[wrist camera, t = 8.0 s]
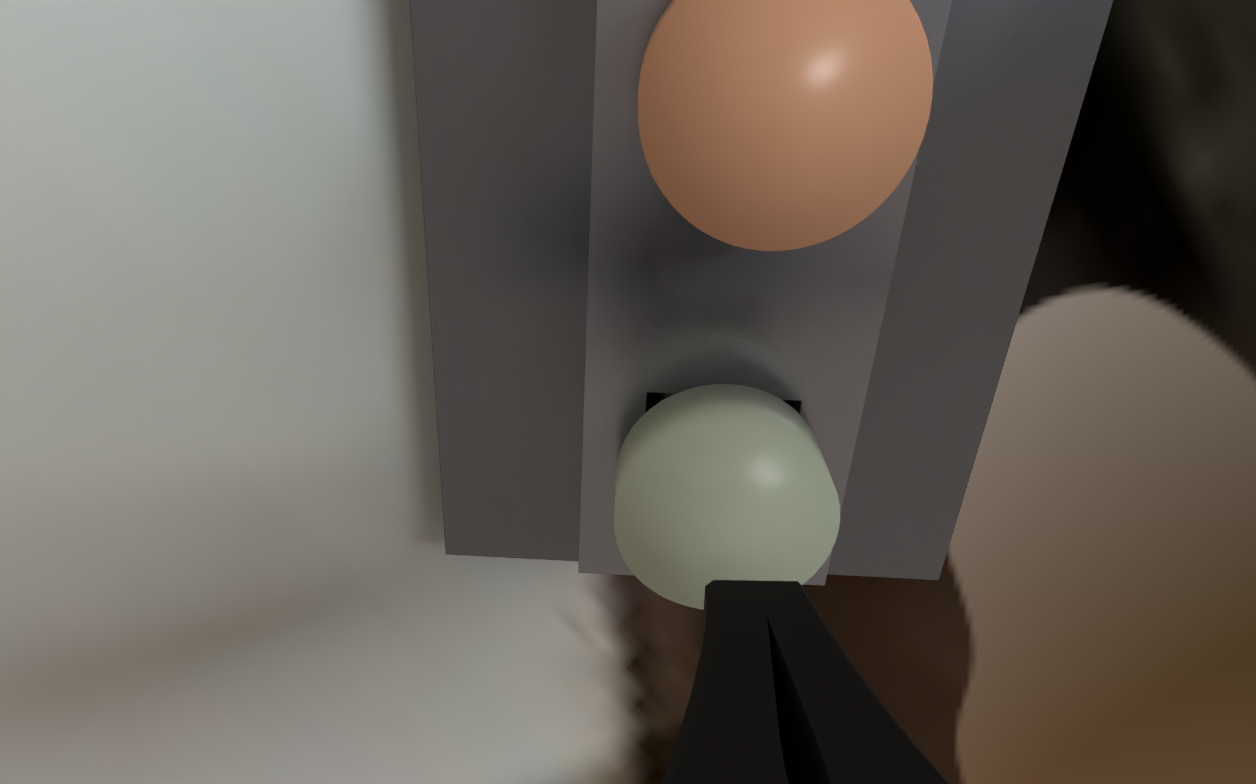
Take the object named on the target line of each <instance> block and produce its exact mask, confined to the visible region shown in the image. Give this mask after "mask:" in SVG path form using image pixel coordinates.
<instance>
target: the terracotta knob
mask: <svg viewBox="0 0 1256 784" xmlns="http://www.w3.org/2000/svg"><path fill="white" fill-rule="evenodd" d="M932 92H933V72H932V61H931V54H930V50H929V45H928V41H927V37H926V34H925V31H924V29H923V26H922V23H921V21H920V18H919V16H918V14H917V13H916V11H915V9H914V7H913V5H912V4H911V2H910V0H672V1H671V2H670V4H669V5H668V7H667V8H666V10H665V11H664V13H663V14H662V15H661V17H660V19H659V20H658V22H657V24H656V26H655V28H654V30H653V32H652V34H651V36H650V39H649V42H648V44H647V47H646V50H645V52H644V57H643V61H642V65H641V69H640V76H639V85H638V125H639V132H640V140H641V144H642V148H643V151H644V155H645V159H646V161H647V164H648V166H649V169H650V171H651V174H652V176H653V178H654V179H655V181H656V183H657V185H658V186H659V188H660V190H661V192H662V193H663V194H664V196H665V197H666V198H667V200H668V201H669V202H670V204H671V205H672V206H673V207H674V208H675V209H676V210H677V211H678V212H679V213H680V214H681V215H682V216H683V217H684V218H685V219H686V220H687V221H689V222H690V223H691V224H692V225H694V226H695V227H696V228H698V229H699V230H701V231H703V232H704V233H706V234H708V235H710V236H711V237H713V238H715V239H718V240H720V241H723V242H725V243H728V244H730V245H734V246H738V247H742V248H745V249H752V250H760V251H785V250H792V249H800V248H804V247H807V246H811V245H815V244H818V243H821V242H823V241H826V240H829V239H831V238H834V237H836V236H838V235H839V234H841V233H843V232H845V231H847V230H849V229H851V228H852V227H854V226H855V225H856V224H858V223H859V222H861V221H862V220H864V219H865V218H866V217H868V216H869V215H870V214H871V213H872V212H873V211H874V210H876V209H877V208H878V207H879V206H880V205H881V204H882V203H883V202H884V201H885V200H886V199H887V198H888V196H889V195H890V194H891V193H892V192H893V191H894V190H895V188H896V187H897V186H898V184H899V183H900V181H901V180H902V179H903V177H904V176H905V174H906V173H907V171H908V169H909V167H910V166H911V164H912V162H913V160H914V158H915V157H916V154H917V152H918V150H919V147H920V145H921V142H922V140H923V137H924V134H925V130H926V127H927V123H928V120H929V115H930V109H931V103H932Z"/></svg>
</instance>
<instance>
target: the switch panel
mask: <svg viewBox="0 0 1256 784" xmlns="http://www.w3.org/2000/svg"><path fill="white" fill-rule="evenodd" d="M671 1H672V0H410V8H411V24H412V39H413V55H414V70H415V86H416V101H417V116H418V132H419V147H420V163H421V178H422V194H423V209H424V224H425V240H426V255H427V271H428V286H429V302H430V317H431V332H432V348H433V363H434V379H435V394H436V410H437V425H438V440H439V456H440V471H441V487H442V502H443V518H444V533H445V548H446V554H452V555H471V556H490V557H509V558H528V559H547V560H566V561H579V573H598V574H617V575H634V574H633V573H632V571H631V570H630V569H629V567H628V566H627V565H626V563H625V561H624V559H623V557H622V556H621V554H620V551H619V548H618V545H617V543H616V537H615V532H614V510H615V490H616V470H617V463H618V457H619V454H620V450H621V447H622V445H623V443H624V441H625V438H626V436H627V435H628V433H629V432H630V430H631V429H632V427H633V426H634V425H635V423H636V422H637V421H638V420H639V419H640V418H641V417H642V416H643V415H644V414H645V411H646V397H647V392H654V393H672V394H676V393H679V392H681V391H684V390H687V389H691V388H695V387H699V386H704V385H712V384H734V385H743V386H748V387H752V388H756V389H759V390H762V391H765V392H767V393H770V394H772V395H774V396H776V397H778V398H779V399H781V400H783V401H784V402H786V403H787V404H788V405H790V406H791V407H793V408H794V409H795V410H796V411H797V412H798V413H799V414H800V415H801V416H802V417H803V419H804V420H805V421H806V422H807V424H808V425H809V426H810V428H811V430H812V432H813V434H814V435H815V438H816V440H817V443H818V445H819V448H820V450H821V453H822V455H823V458H824V460H825V463H826V465H827V468H828V470H829V473H830V475H831V478H832V480H833V483H834V486H835V488H836V491H837V494H838V498H839V504H840V525H839V531H838V535H837V538H836V541H835V544H834V546H833V548H832V550H831V552H830V554H829V556H828V557H827V559H826V560H825V562H824V563H823V565H822V566H821V567H820V568H819V569H818V571H817V572H816V573H815V574H814V575H813V576H812V577H811V578H810V579H809V580H807V581H806V582H805V583H804V584H808V585H825V582H826V577H827V574H833V575H852V576H871V577H890V578H909V579H929V580H939V577H940V574H941V570H942V567H943V564H944V560H945V557H946V554H947V551H948V547H949V544H950V541H951V537H952V534H953V531H954V527H955V524H956V521H957V517H958V514H959V511H960V507H961V504H962V501H963V497H964V494H965V491H966V488H967V484H968V481H969V478H970V474H971V471H972V468H973V464H974V461H975V458H976V454H977V451H978V447H979V444H980V441H981V437H982V434H983V431H984V428H985V425H986V421H987V418H988V415H989V411H990V408H991V405H992V401H993V398H994V395H995V391H996V388H997V385H998V381H999V378H1000V375H1001V371H1002V368H1003V365H1004V361H1005V358H1006V355H1007V352H1008V348H1009V345H1010V342H1011V338H1012V335H1013V332H1014V328H1015V325H1016V322H1017V318H1018V315H1019V312H1020V308H1021V305H1022V302H1023V299H1024V295H1025V292H1026V289H1027V285H1028V282H1029V279H1030V275H1031V272H1032V269H1033V265H1034V262H1035V259H1036V255H1037V252H1038V249H1039V245H1040V242H1041V239H1042V236H1043V232H1044V229H1045V226H1046V222H1047V219H1048V216H1049V212H1050V209H1051V206H1052V202H1053V199H1054V196H1055V192H1056V189H1057V186H1058V182H1059V179H1060V176H1061V173H1062V169H1063V166H1064V163H1065V159H1066V156H1067V153H1068V149H1069V146H1070V143H1071V139H1072V136H1073V133H1074V129H1075V126H1076V123H1077V119H1078V116H1079V113H1080V110H1081V106H1082V103H1083V100H1084V96H1085V93H1086V90H1087V86H1088V83H1089V80H1090V76H1091V73H1092V70H1093V66H1094V63H1095V60H1096V56H1097V53H1098V50H1099V47H1100V43H1101V40H1102V37H1103V33H1104V30H1105V27H1106V23H1107V20H1108V17H1109V13H1110V10H1111V7H1112V3H1113V0H910V2H911V4H912V5H913V7H914V9H915V11H916V13H917V14H918V16H919V18H920V21H921V23H922V26H923V29H924V31H925V34H926V37H927V41H928V45H929V50H930V54H931V61H932V72H933V92H932V103H931V109H930V115H929V120H928V123H927V127H926V130H925V134H924V137H923V140H922V142H921V145H920V147H919V150H918V152H917V154H916V157H915V158H914V160H913V162H912V164H911V166H910V167H909V169H908V171H907V173H906V174H905V176H904V177H903V179H902V180H901V181H900V183H899V184H898V186H897V187H896V188H895V190H894V191H893V192H892V193H891V194H890V195H889V196H888V198H887V199H886V200H885V201H884V202H883V203H882V204H881V205H880V206H879V207H878V208H877V209H876V210H874V211H873V212H872V213H871V214H870V215H869V216H868V217H866V218H865V219H864V220H862V221H861V222H859V223H858V224H856V225H855V226H854V227H852V228H851V229H849V230H847V231H845V232H843V233H841V234H839V235H838V236H836V237H834V238H831V239H829V240H826V241H823V242H821V243H818V244H815V245H811V246H807V247H804V248H800V249H792V250H785V251H760V250H752V249H745V248H742V247H738V246H734V245H730V244H728V243H725V242H723V241H720V240H718V239H715V238H713V237H711V236H710V235H708V234H706V233H704V232H703V231H701V230H699V229H698V228H696V227H695V226H694V225H692V224H691V223H690V222H689V221H687V220H686V219H685V218H684V217H683V216H682V215H681V214H680V213H679V212H678V211H677V210H676V209H675V208H674V207H673V206H672V205H671V204H670V202H669V201H668V200H667V198H666V197H665V196H664V194H663V193H662V192H661V190H660V188H659V186H658V185H657V183H656V181H655V179H654V178H653V176H652V174H651V171H650V169H649V166H648V164H647V161H646V159H645V155H644V151H643V148H642V144H641V140H640V132H639V125H638V85H639V76H640V69H641V65H642V61H643V57H644V52H645V50H646V47H647V44H648V42H649V39H650V36H651V34H652V32H653V30H654V28H655V26H656V24H657V22H658V20H659V19H660V17H661V15H662V14H663V13H664V11H665V10H666V8H667V7H668V5H669V4H670V2H671Z"/></svg>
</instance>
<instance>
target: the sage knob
mask: <svg viewBox="0 0 1256 784" xmlns="http://www.w3.org/2000/svg"><path fill="white" fill-rule="evenodd" d="M839 525H840V504H839V498H838V494H837V491H836V488H835V486H834V483H833V480H832V478H831V475H830V473H829V470H828V468H827V465H826V463H825V460H824V458H823V455H822V453H821V450H820V448H819V445H818V443H817V440H816V438H815V435H814V434H813V432H812V430H811V428H810V426H809V425H808V424H807V422H806V421H805V420H804V419H803V417H802V416H801V415H800V414H799V413H798V412H797V411H796V410H795V409H794V408H793V407H791V406H790V405H788V404H787V403H786V402H784V401H783V400H781V399H779V398H778V397H776V396H774V395H772V394H770V393H767V392H765V391H762V390H759V389H756V388H752V387H748V386H743V385H734V384H712V385H704V386H699V387H695V388H691V389H687V390H684V391H681V392H679V393H676V394H672V393H661V398H660V402H659V403H658V404H656V405H655V406H653V407H652V408H651V409H649V410H648V411H647V412H646V413H645V414H644V415H643V416H642V417H641V418H640V419H639V420H638V421H637V422H636V423H635V425H634V426H633V427H632V429H631V430H630V432H629V433H628V435H627V436H626V438H625V441H624V443H623V445H622V447H621V450H620V454H619V457H618V463H617V470H616V490H615V510H614V532H615V537H616V543H617V545H618V548H619V551H620V554H621V556H622V557H623V559H624V561H625V563H626V565H627V566H628V567H629V569H630V570H631V571H632V573H633V574H634V575H635V576H636V577H637V578H638V579H639V580H640V581H641V582H642V583H643V584H644V585H646V586H647V587H648V588H649V589H651V590H652V591H654V592H655V593H657V594H659V595H660V596H662V597H664V598H666V599H668V600H671V601H673V602H675V603H678V604H681V605H684V606H688V607H692V608H697V609H703V610H704V596H705V586H706V585H707V584H709V583H710V582H711V581H713V580H754V581H798V582H799V583H800V584H801V585H802V584H804V583H805V582H806V581H807V580H809V579H810V578H811V577H812V576H813V575H814V574H815V573H816V572H817V571H818V569H819V568H820V567H821V566H822V565H823V563H824V562H825V560H826V559H827V557H828V556H829V554H830V552H831V550H832V548H833V546H834V544H835V541H836V538H837V535H838V531H839Z"/></svg>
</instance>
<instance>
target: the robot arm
mask: <svg viewBox="0 0 1256 784" xmlns="http://www.w3.org/2000/svg"><path fill="white" fill-rule="evenodd" d="M661 784H949V782H948V781H947V780H946V779H945V778H944V777H943V776H942V775H941V773H940V772H939V771H938V770H937V769H936V768H935V767H934V765H933V764H932V763H931V762H930V761H929V760H928V759H927V757H926V756H925V755H924V754H923V753H922V751H921V750H920V749H919V748H918V746H917V745H916V744H915V743H914V742H913V740H912V739H911V738H910V737H909V736H908V734H907V733H906V732H905V731H904V730H903V728H902V727H901V726H900V725H899V723H898V722H897V721H896V720H895V718H894V717H893V716H892V714H891V713H890V712H889V711H888V709H887V708H886V707H885V706H884V704H883V703H882V701H881V700H880V699H879V697H878V696H877V695H876V693H875V692H874V691H873V689H872V688H871V687H870V685H869V684H868V683H867V681H866V680H865V679H864V677H863V676H862V675H861V673H860V672H859V671H858V669H857V668H856V666H855V665H854V664H853V662H852V661H851V659H850V658H849V656H848V655H847V654H846V652H845V651H844V649H843V648H842V646H841V645H840V643H839V642H838V640H837V639H836V637H835V636H834V634H833V633H832V631H831V630H830V628H829V627H828V625H827V624H826V622H825V621H824V619H823V617H822V616H821V614H820V613H819V611H818V610H817V608H816V606H815V605H814V603H813V601H812V600H811V598H810V596H809V595H808V593H807V591H806V590H805V588H804V587H803V586H802V585H801V584H800V583H799V582H798V581H754V580H713V581H711V582H710V583H709V584H707V585H706V586H705V596H704V612H703V628H702V645H701V655H700V659H699V663H698V668H697V672H696V676H695V680H694V685H693V689H692V693H691V696H690V700H689V703H688V706H687V710H686V713H685V716H684V719H683V722H682V725H681V728H680V731H679V735H678V738H677V741H676V744H675V747H674V750H673V753H672V755H671V758H670V761H669V764H668V766H667V769H666V772H665V774H664V777H663V779H662V782H661Z"/></svg>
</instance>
